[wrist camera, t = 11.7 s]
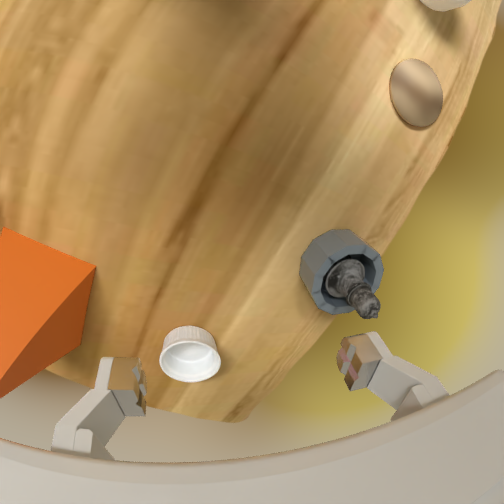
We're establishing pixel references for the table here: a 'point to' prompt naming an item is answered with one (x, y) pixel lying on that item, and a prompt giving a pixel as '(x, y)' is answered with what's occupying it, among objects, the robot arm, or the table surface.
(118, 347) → the table surface
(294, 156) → the table surface
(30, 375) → the pyramid
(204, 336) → the ramekin
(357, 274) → the grey chess piece
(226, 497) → the robot arm
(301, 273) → the grey faceted cup
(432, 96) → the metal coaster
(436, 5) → the teardrop
